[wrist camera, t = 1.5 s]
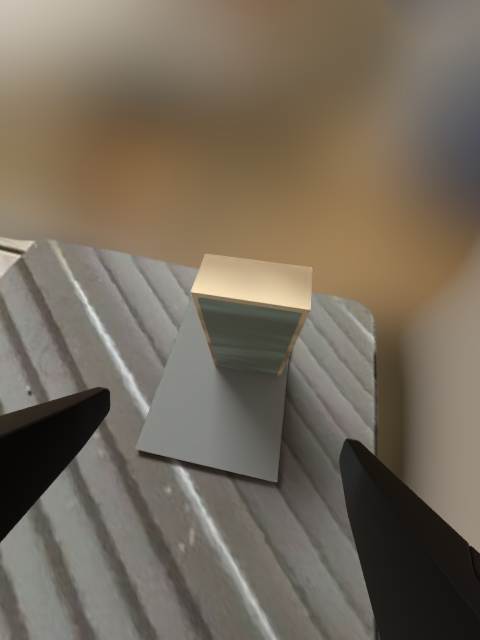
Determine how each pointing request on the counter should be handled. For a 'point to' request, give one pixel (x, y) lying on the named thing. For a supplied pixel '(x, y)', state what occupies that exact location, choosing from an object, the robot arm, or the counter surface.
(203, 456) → the mat
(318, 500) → the counter surface
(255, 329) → the tile
